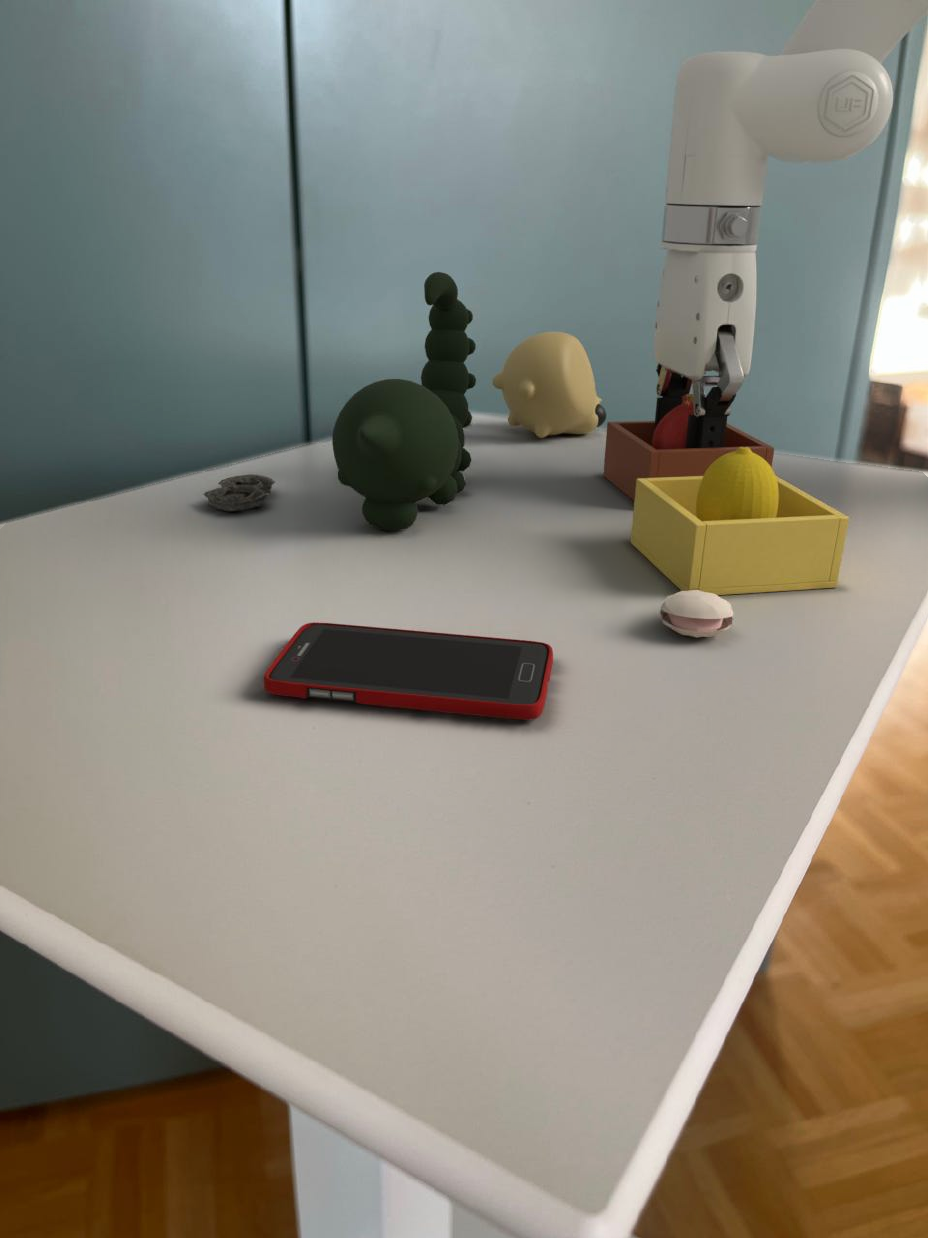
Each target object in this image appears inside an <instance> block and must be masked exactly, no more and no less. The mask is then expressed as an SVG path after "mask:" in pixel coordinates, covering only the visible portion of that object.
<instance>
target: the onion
mask: <svg viewBox="0 0 928 1238" xmlns="http://www.w3.org/2000/svg"><path fill="white" fill-rule="evenodd" d="M682 399H683V402H682V404H681V405H679V406H677V407H675V408H674V409H672V410H671V411H670V412H668V413H667V414H666V415H665V416H664V417H663V418H662V419H661V420H660V422H659V423H658V425H657V427H656V429H655V431H654V434H653V439H652V447H653V448H655V449H656V450H661V449H685V445H686V436H687V427H688V418H689V415H693V414H694V403H693V393H689V394H686V395H685V396H683V397H682Z"/></svg>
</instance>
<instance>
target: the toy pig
mask: <svg viewBox="0 0 928 1238" xmlns="http://www.w3.org/2000/svg"><path fill="white" fill-rule="evenodd" d="M492 386H493V387H494V388H495V389H498V390H501V393H502V397H503V400H504V402H505V404H506V407H507V409H508V410H509V414H508V417H507V422H508V424H509V426H510V427H518V426H522V427H523V428H525V429H526V430H527V431H528V432H531V433H534V434H535V435H536V437H538V438H541V439H542V438H546V437H547V436H556V435H560V434H568V435H585V434H589V433H591V432H593V431H594V430H596V429H597V428H599V427H601V426H603V424H605V421H606V420H607V412H606V409H605V407H604V406H603V405H601V403H602V401H603V400H602V398H601V397H599V396H598V395H597V391H596V383H595V378H594V373H593V369H592V365H591V362H590V359H589V357H588V355H587V352H586V350H585V348H584V346H583V344H582V342H581V341H580V340H579V339H578V338H577V337H575V336H574V335H573V334H570V333H567V332H564V331H563V332H562V331H545V332H541V333H536V334H534V335H532V336H529V337H527V338H525V339H524V340H522V341H521V342H520V343H518V344H517V345H516V346H515V347H514V348H513V349H512V351H511V352H510V353H509V355H508V356H507V358H506V360H505V362H504V364H503V367H502V371H500V372H499V373H496V374H495V376H494V377H493V378H492Z"/></svg>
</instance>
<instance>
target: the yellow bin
mask: <svg viewBox="0 0 928 1238" xmlns="http://www.w3.org/2000/svg"><path fill="white" fill-rule="evenodd" d="M702 478H703V476H688V477H662V478H646V479H645V478H639V479H637V480H636V491H635V502H634V501H633V502H634V503H633V505H634V506H633V513H632V515H633V516H632V522H631V523H632V525H631V535H630V536H631V537H630V544H631V545H632V546H634V547H635V548H636V549H637V550H638V551H639V552H640V553H641V554H642V555H643V556H644V557H645V558H647V560H648V561H649V562H650V563H651V564H652V565H654V566H655V567H656V568H657V569H658V570H659V571H660V572H661V573H662V574H663V575H664V576H665V577H666V578H667V579H668V580H669V581H670V582H672V584H674V585H675V587H676V588H678V589H679V590H680V591H692V590H699V591H703V592H708V593H713V594H716V595H717V596H724V595H725V596H726V595H739V594H740V595H742V594H743V595H744V594H757V593H758V594H759V593H773V592H774V593H775V592H789V591H805V590H823V589H835V588H838V583H839V577H840V570H841V566H842V560H843V554H844V550H845V544H846V538H847V532H848V528H849V522H850V517H849V516H848V515H845V514H844V513H842V512H840V511H838V510H837V509H835V508H833V507H832V506H830V505H828V504H826V503H825V502H823V501H821V500H820V499H817V498H816V497H814V496H812V495H811V494H808V493H807V492H805V491H803V490H802V489H800V488H798V487H796V486H795V485H793V484H791V483H789V482H788V481H786V480H784V479H783V478H780V477H779V476H777V475H776V478H777V483H778V491H779V502H778V510H777V515H776V518H760V519H740V520H719V521H703V522H702V521H701V520H699V519H698V518H697V515H696V501H697V494H698V490H699V486H700V483H701V481H702Z"/></svg>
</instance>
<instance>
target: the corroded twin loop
mask: <svg viewBox="0 0 928 1238" xmlns="http://www.w3.org/2000/svg"><path fill="white" fill-rule="evenodd" d="M275 483H276V481H275V480H274V479H273V478H271V477H269V476H264V475H260V474H242V475H235V476H231V477H230V476H229V477H226V478H223V479H221V480H219V482H217V484H218V485H219V486H221V487H218V488H214V489H211V490H207V491H206V492H204V496H205V497H206V498H207V501H208V503H209V504H210V505H211V506H212V507H213V508H215V509H217V510H220V511H225V512H237V511H245V510H248V509H252V508H259V507H261V506H262V505H263V502H264V501H263V500H264V499H263V498H264V497H265V496H267V495H269V494H271V492H272V491H271V490H272V487H273V485H275Z"/></svg>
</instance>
